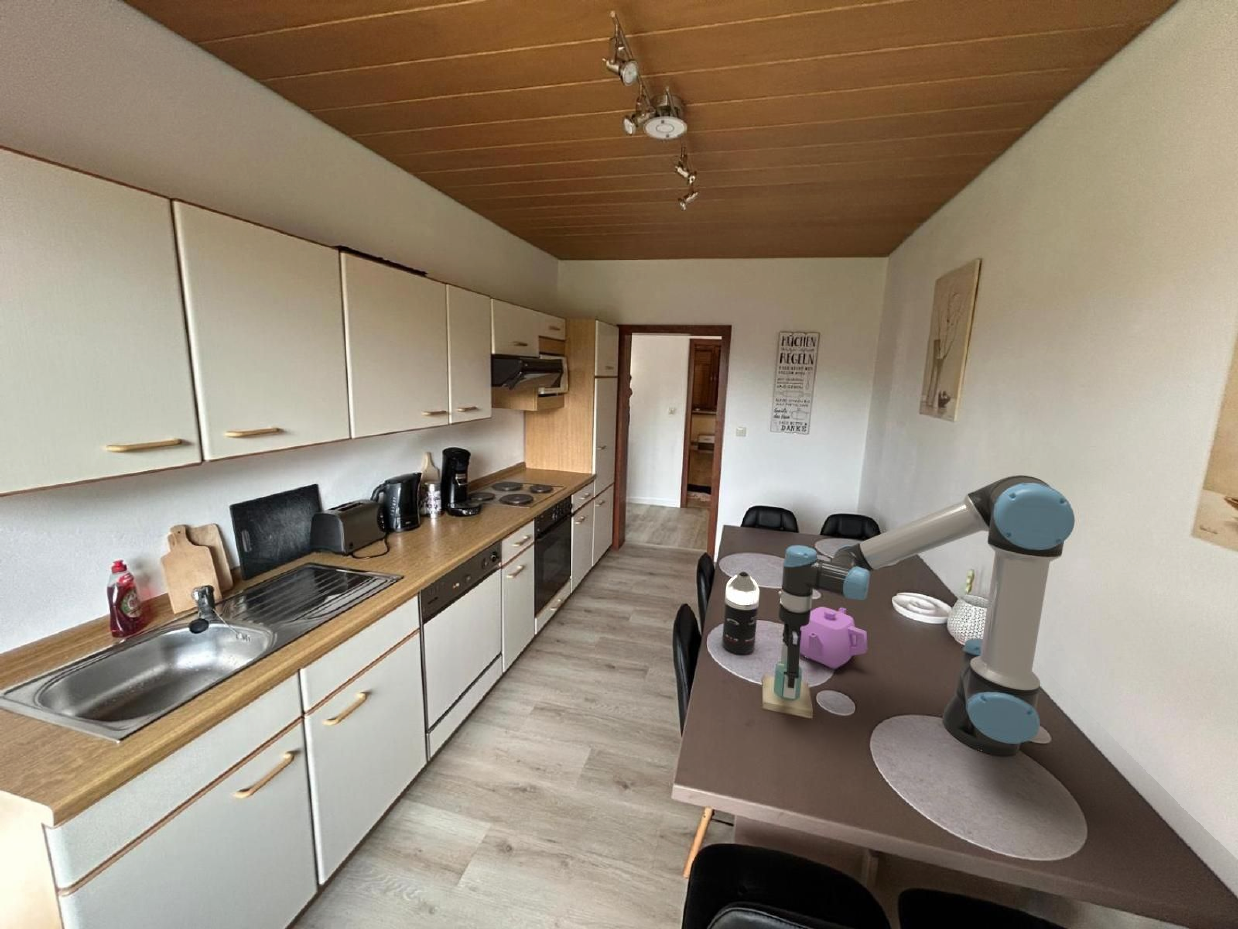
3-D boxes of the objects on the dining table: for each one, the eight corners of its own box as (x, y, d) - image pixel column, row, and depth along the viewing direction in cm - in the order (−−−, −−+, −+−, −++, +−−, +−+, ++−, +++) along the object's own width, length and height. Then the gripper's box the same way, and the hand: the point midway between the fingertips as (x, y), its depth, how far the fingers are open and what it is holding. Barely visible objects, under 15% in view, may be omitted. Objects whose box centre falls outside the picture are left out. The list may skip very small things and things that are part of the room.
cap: (798, 687, 131) (800, 661, 129) (800, 702, 125) (803, 675, 123) (773, 682, 132) (775, 657, 131) (774, 697, 126) (776, 670, 125)
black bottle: (760, 647, 153) (767, 572, 149) (744, 660, 146) (751, 582, 141) (731, 634, 160) (737, 563, 156) (715, 646, 153) (720, 571, 148)
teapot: (840, 640, 159) (845, 597, 156) (871, 674, 141) (877, 626, 138) (783, 640, 158) (787, 597, 155) (806, 674, 140) (811, 626, 137)
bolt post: (807, 689, 133) (810, 664, 132) (812, 718, 122) (815, 691, 120) (761, 681, 136) (764, 656, 135) (762, 708, 125) (765, 682, 123)
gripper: (777, 584, 137) (770, 653, 141) (782, 627, 113) (774, 708, 117) (805, 588, 135) (798, 657, 139) (816, 632, 111) (807, 715, 115)
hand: (787, 681), depth 128 cm, fingers open, 13 cm apart
